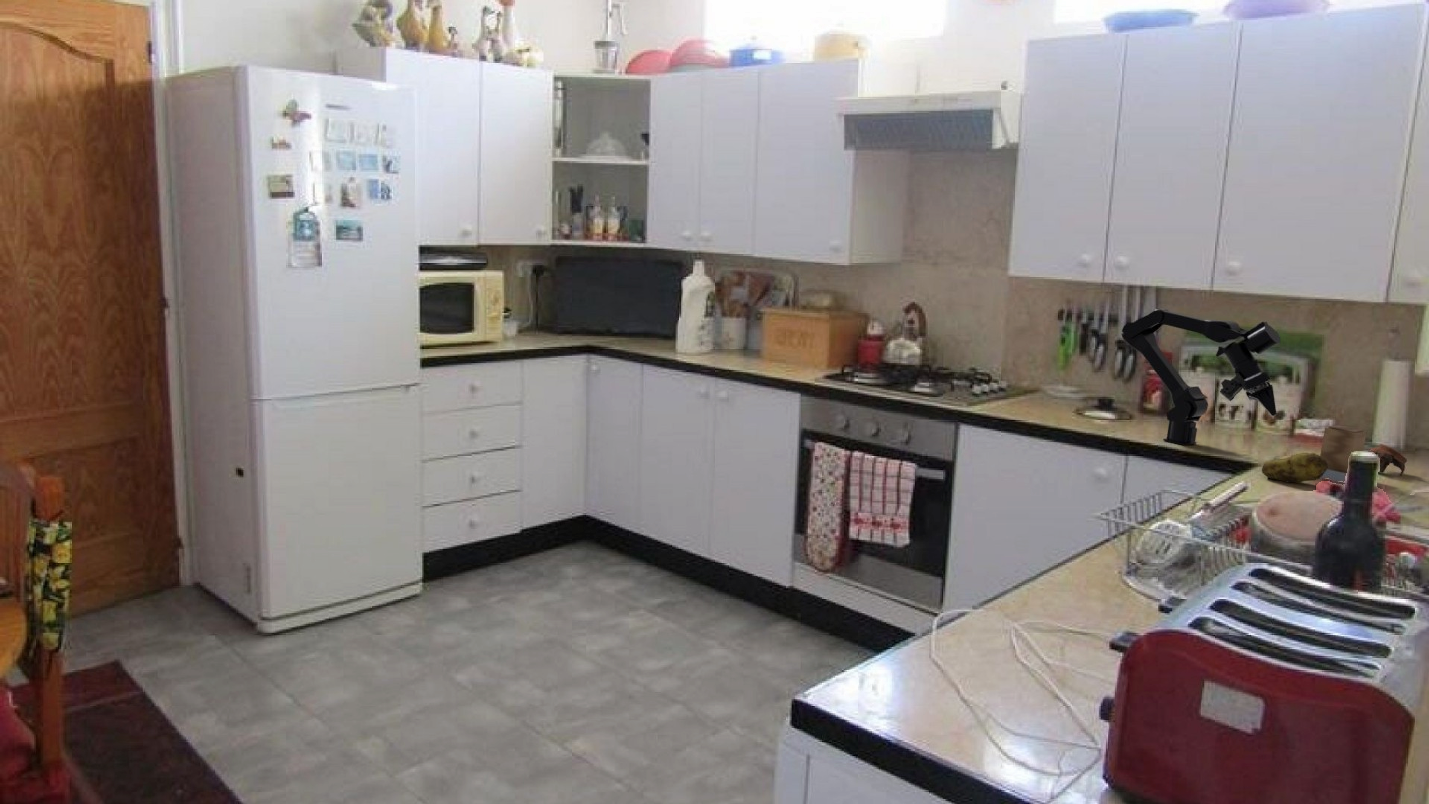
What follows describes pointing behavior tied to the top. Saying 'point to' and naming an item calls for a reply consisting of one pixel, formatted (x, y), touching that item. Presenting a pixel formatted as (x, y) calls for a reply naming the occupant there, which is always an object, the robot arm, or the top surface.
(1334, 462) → the crate
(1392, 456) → the brown irregular pronged part
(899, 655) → the top surface
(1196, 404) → the robot arm
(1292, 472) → the potato
